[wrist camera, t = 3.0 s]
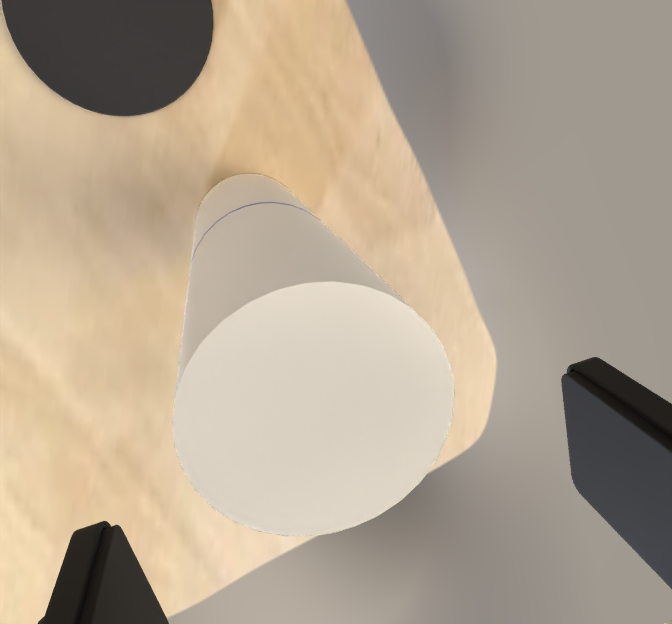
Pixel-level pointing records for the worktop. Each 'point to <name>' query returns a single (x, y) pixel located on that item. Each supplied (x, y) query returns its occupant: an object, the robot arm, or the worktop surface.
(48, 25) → the coaster
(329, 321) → the cylindrical container
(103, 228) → the worktop surface
